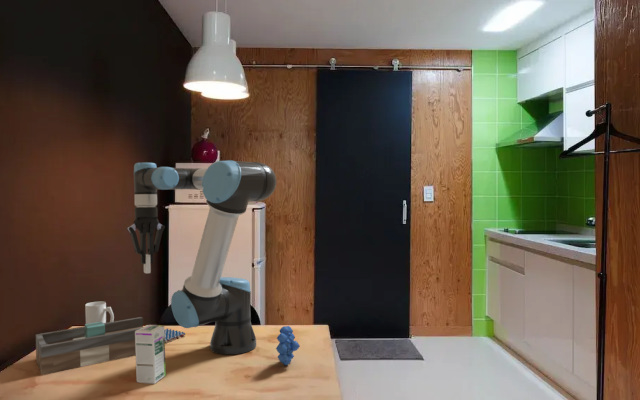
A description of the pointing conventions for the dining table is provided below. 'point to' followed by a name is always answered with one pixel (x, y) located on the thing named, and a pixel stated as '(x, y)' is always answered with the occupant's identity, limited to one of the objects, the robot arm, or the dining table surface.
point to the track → (85, 346)
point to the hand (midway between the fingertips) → (147, 272)
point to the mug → (97, 312)
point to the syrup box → (150, 354)
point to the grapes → (286, 345)
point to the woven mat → (172, 335)
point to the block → (94, 329)
